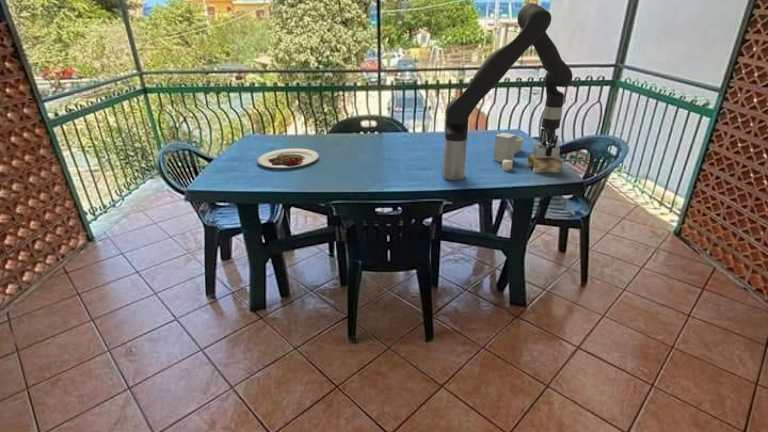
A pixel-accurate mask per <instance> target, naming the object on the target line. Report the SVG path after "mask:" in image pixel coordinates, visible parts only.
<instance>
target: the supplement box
mask: <svg viewBox="0 0 768 432" xmlns="http://www.w3.org/2000/svg"><path fill="white" fill-rule="evenodd" d="M516 136H517V134H512V133H507V132H501V133H498V134H496V135H495V136H494V147H493V158H492V160H493V161H494V162H499V163H503V160H512V161H514V157H515V154H514V151H515V142H516Z"/></svg>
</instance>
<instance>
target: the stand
mask: <svg viewBox="0 0 768 432" xmlns="http://www.w3.org/2000/svg"><path fill="white" fill-rule="evenodd" d="M526 161H527V162H526V163H527V164H526V166H527V167H530V168H531V167H533V169H532V172H533V173H561V172H562V169H563V167H562V166H563V162H564V161H563V160H562V159H560V157H559V158H536V157H535V156H534V155H533V154H528V157H527V160H526Z"/></svg>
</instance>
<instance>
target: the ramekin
mask: <svg viewBox="0 0 768 432" xmlns="http://www.w3.org/2000/svg"><path fill="white" fill-rule="evenodd" d="M523 142H524V138H523V137H522V136H519V135H516V142H515V151H514V155H516V154H517V153H519V152H520V151H521V148H522V145H523Z"/></svg>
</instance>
